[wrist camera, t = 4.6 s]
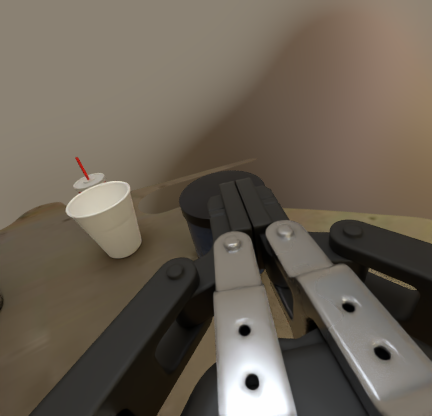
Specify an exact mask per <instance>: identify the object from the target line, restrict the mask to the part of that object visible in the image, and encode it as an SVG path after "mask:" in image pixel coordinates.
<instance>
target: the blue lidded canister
mask: <svg viewBox="0 0 432 416" xmlns="http://www.w3.org/2000/svg"><path fill="white" fill-rule="evenodd" d="M245 178H250V179H251V180H252V182H253V184H254V186H255V187H257V186H261V185H264V182H263V181H262V180H261V179H260V178H259V177H258V176H256V175H254V174H251V173H248V172H244V171H221V172H216V173H212V174H209V175H206V176H203V177H201V178H199V179H197V180H195V181H193V182H192V183H190V184H189V185H188V186H187V187H186V188H185V189H184V190H183V191H182V193H181V195H180V199H179V203H180V207H181V210H182V213H183V216H184V217H185V219H186V221H187V224H188V227H189V230H190V233H191V236H192V239H193V242H194V246H195V249H196V252H197V255H198V258H201V257H203V256H204V255H205V254H207V253H208V252H209V250H210V249H211V247H212V245H213V236H212V230H211V225H210V219H209V213H208V207H207V203H208V201H209V199H210V197H212V196H217V195H221V194H220V189H219V184H223V183H227V182H232V181H234V183H235V181H236V180H241V179H245ZM264 186H265V185H264ZM258 269H259V268H258ZM264 270H265V269H261V270H259V273H260V274H261V273H262V272H263V271H264Z"/></svg>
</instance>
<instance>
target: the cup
mask: <svg viewBox="0 0 432 416" xmlns="http://www.w3.org/2000/svg"><path fill="white" fill-rule="evenodd" d="M66 213H67V215H68V216H70V217H72V218H73V219H74V220H75V221H76V222H77V223H78V224H79V225H80V226H81V227H82V228H83V229H84V230H85V231H86V232H87V233H88V234H89V235H90V236H91V237H92V238H93V239H94V241H96V242H97V244H99V246H100V247H101V248H102V249H103V250H104V251H105V252H106V253H107V254H108V255H109V256H110V257H112V258H124V257H127V256H129V255H131V254H133V253H134V252H135V251H136V250H137V249H138V248H139V246H140V245H141V241H142V239H141V235H140V231H139V227H138V223H137V219H136V215H135V211H134V206H133V202H132V198H131V194H130V186H129V184H127V183H126V182H123V181H111V182H105V183H102V184H98V185H96V186H93V187H91V188H88V189H86V190H85V191H83V192H81V193H80V194H78V195H77V196H75V197H74V198H73V199H72V200H71V201H70V202H69V204H68V205H67V207H66Z"/></svg>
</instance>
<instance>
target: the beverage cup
mask: <svg viewBox="0 0 432 416" xmlns="http://www.w3.org/2000/svg"><path fill="white" fill-rule="evenodd" d="M75 159H76V160H77V162H78V164H79V166H80V168H81V169H82V171H83V173H84V175H85V177H83V178H81V179H79V180H78V181H76V182H75V184H74V188H75V190H76V191H78V192H79V194H80V193H81V192H83V191H85V190H86V189H88V188H91V187H93V186H96V185H98V184H102V183H105V182H106V181H105V180H106V178H105V176H104V174H102V173H95V174H90V175H87V173H86V171H85V170H84V168H83V166H82V164H81V162H80V160H79V158H78V157H75Z"/></svg>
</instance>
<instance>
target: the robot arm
mask: <svg viewBox="0 0 432 416" xmlns="http://www.w3.org/2000/svg"><path fill="white" fill-rule="evenodd" d="M219 189H220V194H221V195H217V196H212V197H210V199H209V201H208V203H207V207H208V213H209V219H210V225H211V230H212V236H213V245H212V247H211V249H210V250H209V252H208V253H207V254H205V255H204V256H203V257H201V258H199V259H197V260H195V261H192V260H190V259H188V258H175V259H172V260H170V261H168V262H166V263H165V264H164V265H163V266H162V267H161V268H160V269H159V270H158V271H157V272H156V273H155V274H154V275H153V277H152V278H151V279H150V280H149V281H148V282H147V283H146V284H145V286H144V287H143V288H142V289H141V290H140V291H139V292H138V293H137V295H136V296H135V297H134V298H133V299H132V300H131V301H130V302H129V303H128V305H127V306H126V307H125V308H124V309H123V310H122V311H121V312H120V314H119V315H118V316H117V317H116V318H115V319H114V320H113V321H112V323H111V324H110V325H109V326H108V327H107V328H106V329H105V330H104V332H103V333H102V334H101V335H100V336H99V337H98V338H97V339H96V341H95V342H94V343H93V344H92V345H91V346H90V347H89V348H88V350H87V351H86V352H85V353H84V354H83V355H82V356H81V357H80V359H79V360H78V361H77V362H76V363H75V364H74V365H73V366H72V368H71V369H70V370H69V371H68V372H67V373H66V374H65V375H64V376H63V378H62V379H61V380H60V381H59V382H58V383H57V384H56V385H55V387H54V388H53V389H52V390H51V391H50V392H49V393H48V394H47V396H46V397H45V398H44V399H43V400H42V401H41V402H40V403H39V405H38V406H37V407H36V408H35V409H34V410H33V411H32V412H31V414H30V415H29V416H156V415H157V414H158V412H159V410H160V409H161V407H162V405H163V404H164V402H165V400H166V399H167V397H168V395H169V393H170V392H171V390H172V388H173V387H174V385H175V383H176V382H177V380H178V378H179V377H180V375H181V373H182V371H183V370H184V368H185V366H186V365H187V363H188V361H189V360H190V358H191V356H192V355H193V353H194V351H195V349H196V348H197V346H198V344H199V343H200V341H201V339H202V338H203V336H204V334H205V333H206V331H207V329H208V327H209V326H210V324H211V321H212V317H213V316H214V321H215V342H216V363H214V364H213V365H212V366H211V367H210V368H209V369H208V370H207V371H206V372H205V373H204V375H203V376H202V377H201V378H200V380H199V381H198V383H197V384H196V386H195V388H194V390H193V391H192V393H191V395H190V397H189V399H188V401H187V403H186V405H185V407H184V409H183V411H182V413H181V415H180V416H432V244H431V243H427V242H424V241H421V240H418V239H415V238H411V237H408V236H405V235H402V234H399V233H396V232H392V231H389V230H386V229H383V228H380V227H376V226H373V225H370V224H367V223H364V222H360V221H356V220H341V221H338V222H336V223H334V224H333V225H332V226H331V228H330V232H307V231H306V230H305V229H304V227H303V226H302V225H300V224H299V223H297V222H294V221H290V220H289V218H288V217H287V215H286V214H285V212H284V210H283V209H282V207H281V206H280V204H279V203H278V201H277V199H276V197H275V196H274V194H273V193H272V191H271V190H270V189H269V188H267V187H265V186H264V185H261V186H257V187H255V186H254V184H253V182H252V180H251V179H250V178H245V179H241V180H236V181H235V183H234V181H232V182H227V183H223V184H219ZM258 268H259V269H258ZM369 268H371V269H374V270H376V271H378V272H381V273H383V274H386V275H388V276H390V277H393V278H395V279H398V280H400V281H402V282H405V283H407V284H409V285H411V286H413V287H414V288H416V289H417V290H411V289H408V288H405V287H403V286H400V285H398V284H396V283H393V282H391V281H389V280H386V279H384V278H382V277H379V276H377V275H375V274H372V273H370V272H368V269H369ZM261 269H266V272H267V274H268V277H269V279H270V284H271V287H272V289H273V291H274V293H275V295H276V297H277V299H278V301H279V303H280V306H281V308H282V310H283V312H284V314H285V316H286V318H287V320H288V322H289V324H290V327H291V330H292V333H293V337H294V339H288V338H277V334H276V330H275V326H274V322H273V318H272V314H271V310H270V306H269V302H268V298H267V294H266V290H265V287H264V284H262V281H261V277H260V273H259V270H261ZM2 303H3V298H2V296H1V295H0V309H1V306H2Z"/></svg>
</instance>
